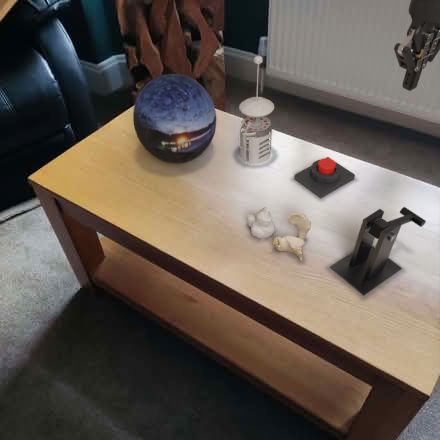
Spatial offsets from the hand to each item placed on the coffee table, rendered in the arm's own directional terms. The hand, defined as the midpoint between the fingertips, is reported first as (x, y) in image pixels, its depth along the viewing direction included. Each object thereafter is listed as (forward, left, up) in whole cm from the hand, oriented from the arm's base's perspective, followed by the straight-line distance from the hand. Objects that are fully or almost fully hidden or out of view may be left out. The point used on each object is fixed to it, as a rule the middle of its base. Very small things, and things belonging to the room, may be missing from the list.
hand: (409, 87), depth 82 cm
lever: (+12, +20, -15) cm, 27 cm away
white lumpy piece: (+31, +3, -25) cm, 40 cm away
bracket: (+16, +21, -24) cm, 36 cm away
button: (+10, -7, -21) cm, 24 cm away
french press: (+22, -22, -25) cm, 40 cm away
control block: (+10, -7, -24) cm, 27 cm away
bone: (+27, +11, -25) cm, 38 cm away
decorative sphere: (+39, -31, -25) cm, 56 cm away
